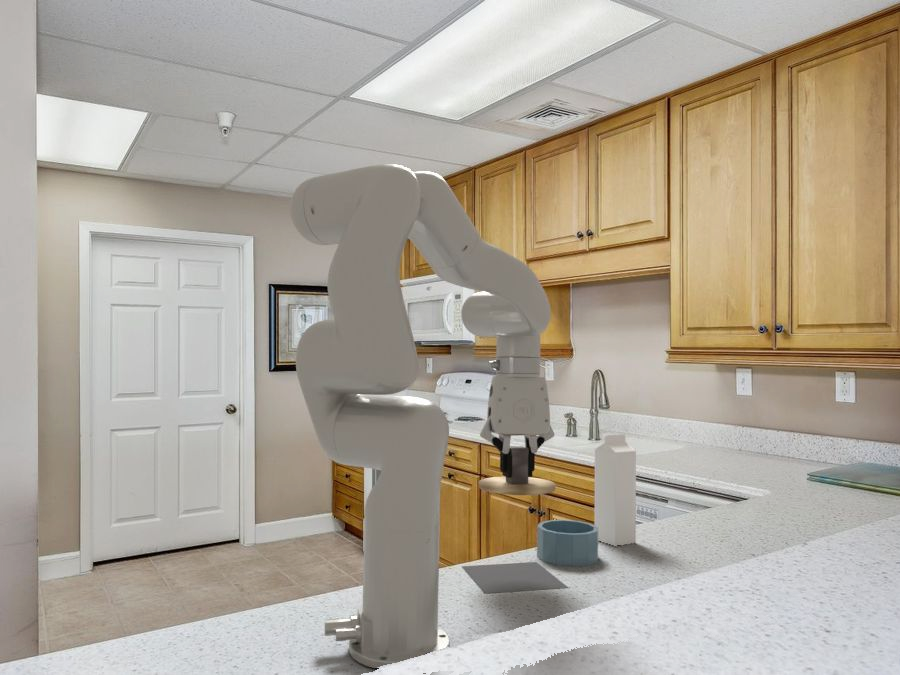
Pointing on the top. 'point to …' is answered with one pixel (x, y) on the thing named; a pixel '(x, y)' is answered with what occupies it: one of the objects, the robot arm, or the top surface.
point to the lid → (517, 478)
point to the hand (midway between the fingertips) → (517, 475)
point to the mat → (512, 577)
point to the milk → (615, 491)
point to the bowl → (567, 542)
